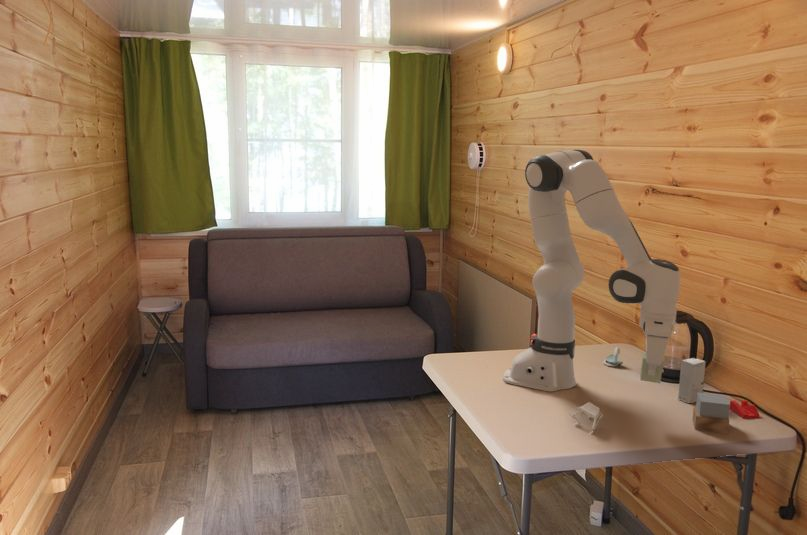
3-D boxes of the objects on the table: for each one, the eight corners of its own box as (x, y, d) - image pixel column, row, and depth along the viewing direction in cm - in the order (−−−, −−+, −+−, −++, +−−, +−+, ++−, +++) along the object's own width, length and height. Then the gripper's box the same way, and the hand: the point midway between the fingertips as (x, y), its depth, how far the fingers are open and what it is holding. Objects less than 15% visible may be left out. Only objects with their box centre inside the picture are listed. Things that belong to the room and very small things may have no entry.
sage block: (640, 380, 181) (643, 358, 180) (640, 374, 185) (642, 353, 184) (660, 383, 179) (663, 361, 178) (659, 377, 184) (662, 356, 183)
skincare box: (690, 404, 197) (694, 364, 195) (676, 399, 201) (680, 360, 199) (702, 400, 201) (707, 361, 198) (689, 395, 204) (693, 356, 202)
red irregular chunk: (729, 410, 194) (730, 400, 194) (744, 410, 195) (745, 400, 194) (743, 419, 188) (744, 409, 187) (759, 419, 189) (760, 408, 188)
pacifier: (606, 368, 228) (624, 368, 228) (607, 350, 227) (625, 350, 227) (600, 361, 236) (617, 361, 235) (601, 344, 234) (618, 343, 234)
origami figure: (564, 418, 185) (565, 401, 184) (593, 417, 186) (594, 400, 186) (582, 437, 174) (584, 419, 173) (613, 436, 175) (615, 418, 174)
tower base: (694, 430, 180) (696, 416, 179) (692, 419, 187) (693, 405, 187) (727, 435, 178) (729, 420, 177) (724, 423, 185) (725, 409, 184)
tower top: (699, 415, 180) (701, 401, 179) (696, 406, 186) (697, 392, 185) (728, 419, 178) (730, 404, 177) (723, 409, 184) (725, 395, 184)
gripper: (644, 310, 190) (638, 357, 192) (645, 329, 171) (638, 381, 173) (668, 313, 188) (661, 360, 191) (671, 333, 169) (665, 385, 172)
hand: (650, 371), depth 182 cm, fingers closed on sage block, 5 cm apart
